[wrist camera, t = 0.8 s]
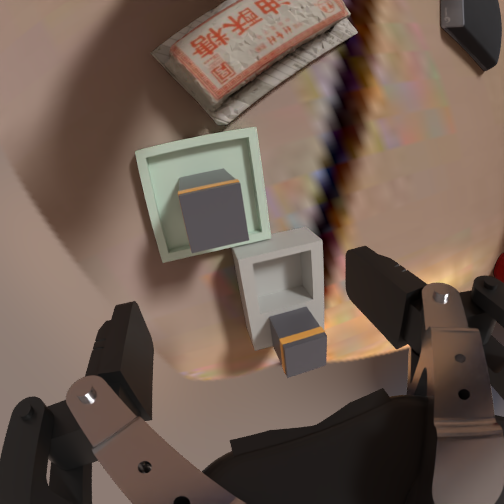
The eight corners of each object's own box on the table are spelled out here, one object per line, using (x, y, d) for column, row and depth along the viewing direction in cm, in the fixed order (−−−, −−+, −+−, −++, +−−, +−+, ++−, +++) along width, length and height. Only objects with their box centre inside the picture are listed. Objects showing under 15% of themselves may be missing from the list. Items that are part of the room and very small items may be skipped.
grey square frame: (230, 243, 29) (250, 288, 21) (305, 226, 31) (348, 262, 23) (247, 328, 34) (267, 384, 26) (310, 311, 35) (344, 359, 27)
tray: (137, 150, 24) (134, 151, 22) (252, 127, 25) (256, 126, 24) (163, 256, 28) (162, 263, 27) (267, 233, 30) (271, 238, 29)
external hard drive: (434, 24, 24) (455, 20, 20) (440, -48, 18) (456, -53, 14) (484, 74, 28) (503, 75, 24) (486, -1, 22) (502, -3, 18)
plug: (178, 177, 25) (177, 195, 18) (223, 167, 26) (241, 182, 19) (187, 219, 27) (191, 254, 20) (231, 210, 27) (250, 240, 20)
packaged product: (228, 129, 21) (144, 41, 17) (220, 129, 25) (150, 56, 21) (377, 25, 19) (311, -50, 15) (351, 36, 24) (293, -30, 19)
